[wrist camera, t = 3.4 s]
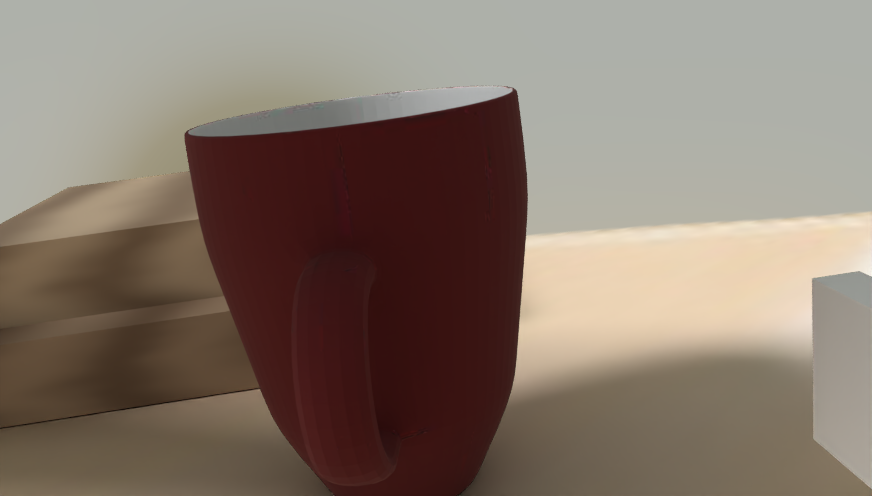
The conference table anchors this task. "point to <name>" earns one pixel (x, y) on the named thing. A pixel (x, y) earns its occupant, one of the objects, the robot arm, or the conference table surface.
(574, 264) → the conference table surface
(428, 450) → the mug
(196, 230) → the stand
